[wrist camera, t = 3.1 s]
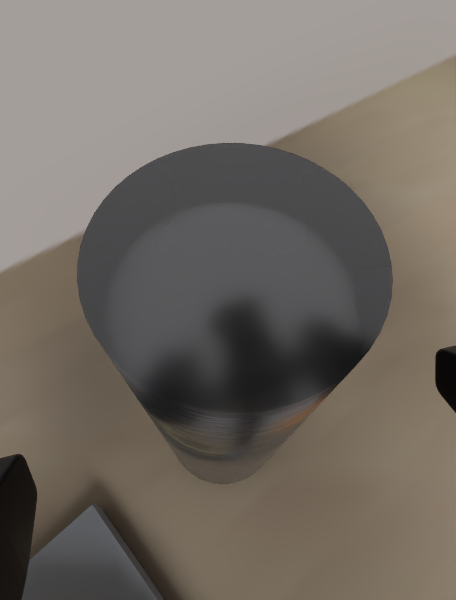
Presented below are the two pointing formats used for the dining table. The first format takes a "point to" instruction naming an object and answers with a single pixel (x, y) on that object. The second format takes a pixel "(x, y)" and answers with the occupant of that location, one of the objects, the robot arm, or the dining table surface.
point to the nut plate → (88, 565)
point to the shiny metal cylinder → (233, 296)
